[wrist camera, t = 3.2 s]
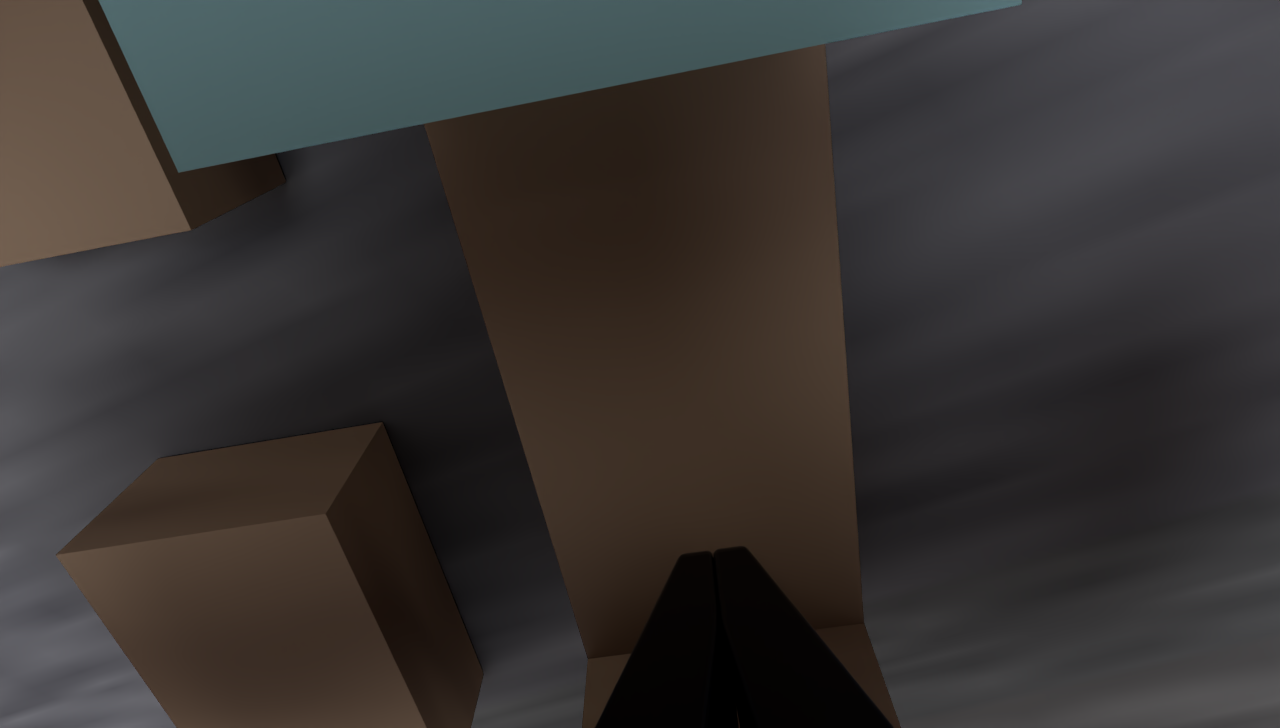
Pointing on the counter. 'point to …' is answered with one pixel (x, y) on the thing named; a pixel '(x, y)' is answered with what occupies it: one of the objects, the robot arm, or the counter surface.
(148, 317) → the counter surface
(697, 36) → the cube
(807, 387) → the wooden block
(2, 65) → the broken strip
